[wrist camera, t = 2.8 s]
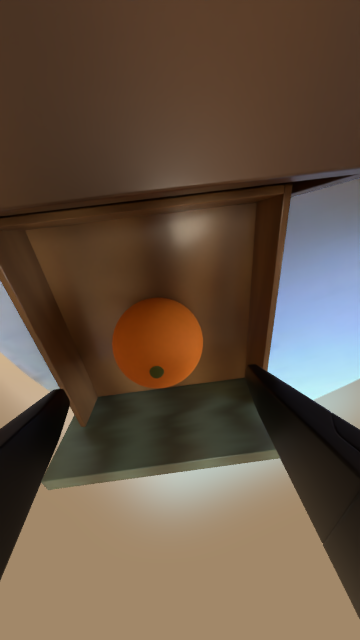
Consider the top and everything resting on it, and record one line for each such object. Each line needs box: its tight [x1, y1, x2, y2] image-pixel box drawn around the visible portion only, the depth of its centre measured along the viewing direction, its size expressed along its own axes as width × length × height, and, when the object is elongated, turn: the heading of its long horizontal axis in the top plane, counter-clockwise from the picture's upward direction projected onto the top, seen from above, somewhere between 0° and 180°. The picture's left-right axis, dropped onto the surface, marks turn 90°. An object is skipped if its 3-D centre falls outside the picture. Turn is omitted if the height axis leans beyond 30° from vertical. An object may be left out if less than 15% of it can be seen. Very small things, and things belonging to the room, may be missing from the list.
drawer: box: [0, 183, 293, 490], centre depth 13 cm, size 18×18×8 cm
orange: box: [112, 298, 203, 388], centre depth 12 cm, size 6×6×6 cm
